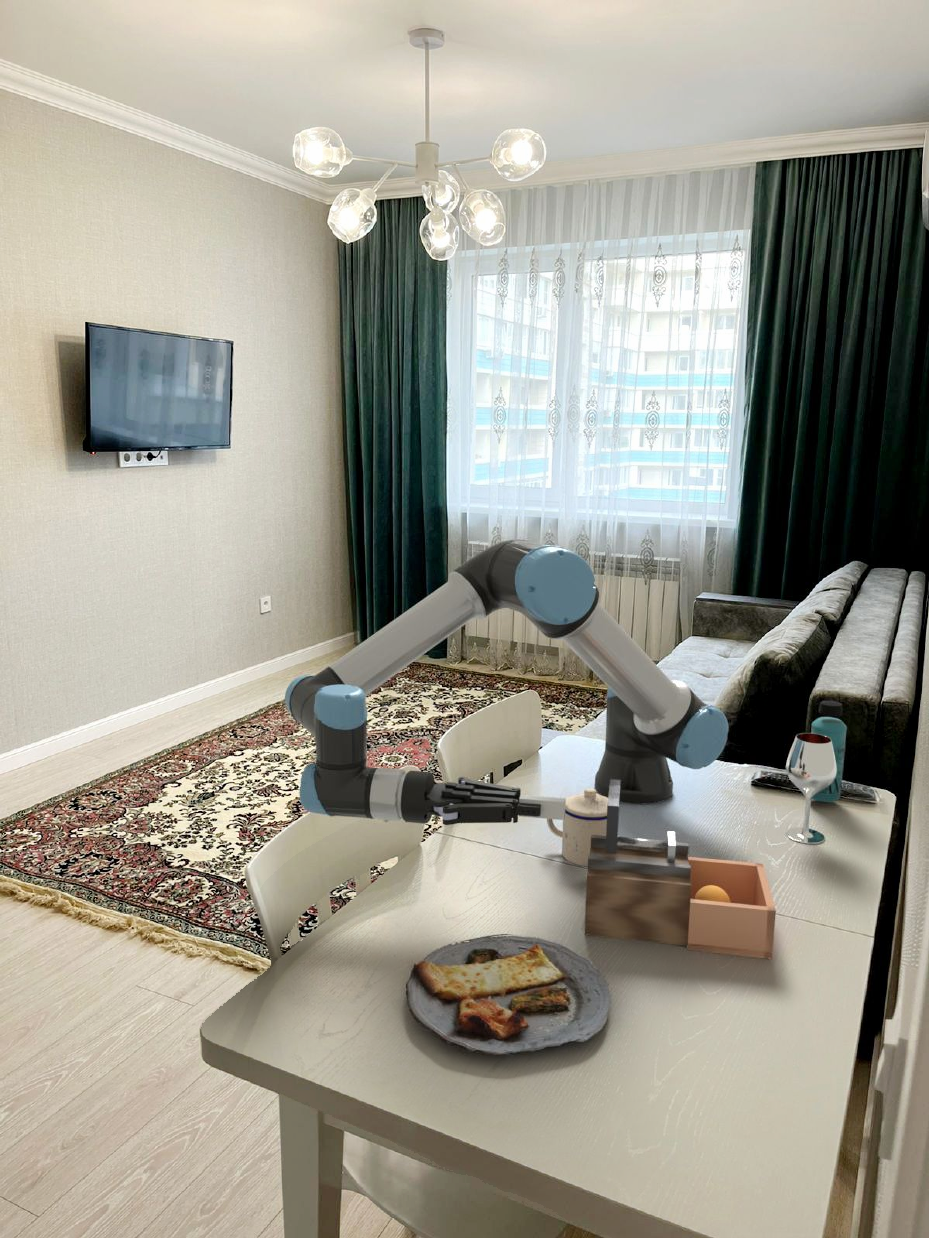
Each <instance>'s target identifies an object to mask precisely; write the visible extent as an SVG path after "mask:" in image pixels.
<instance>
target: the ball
mask: <svg viewBox="0 0 929 1238" xmlns="http://www.w3.org/2000/svg"><path fill="white" fill-rule="evenodd" d="M695 899H697V900H707V901H716V902H726V903H730V899H729V896H728V895H727V893H726V892H725V891H724V890H723V889H721V888H720V887H718V886H714V885H708V886H705V887H703V888H701V889H700V890H699V891H698V892H697V893H696V895H695Z"/></svg>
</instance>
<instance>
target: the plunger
mask: <svg viewBox="0 0 929 1238" xmlns="http://www.w3.org/2000/svg"><path fill="white" fill-rule="evenodd" d="M620 783H621V780H614V779H610V786H609V795H608V804H607V826H606V851H605V853H608V854H616V853H617V848H623V849H634V850H645V851H656V852H667V863H675V850H676V843H675V842H676V832H675V831H669V830H668V831H667V833H666V834H667V836H666V838H667V839H666V840H661V839H652V838H651V839H649V838H640V837H639V838H638V837H628V836H619V823H620V805H621V804H620V803H621V802H620Z"/></svg>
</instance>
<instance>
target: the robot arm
mask: <svg viewBox="0 0 929 1238" xmlns="http://www.w3.org/2000/svg"><path fill="white" fill-rule="evenodd" d="M595 582H596V577H595V574H594V572H593V569H592V568H591V566H590V564H589V563H588V562H587V561H586V560H585V559H584V558H583V557H582V556H581V555H580V554H578V553H576V552H574V551H572V550H570V549H568V548H567V547H564V546H563V547H562V546H559V545H547V544H543V543H537V542H534V541H533V542H532V541H528V540H525V539H517V538H516V539H507V540H504V541H503V540H502V541H501V542H498V543H494V544H493V545H491V546H489V547H488V548H486V549H484V550H482V551H480V552H478V553H477V554H475V555H474V556H472V557H471V558H469V559H468V560H467V561H465V562H464V563H462V564H461V565H459V566H458V567H457V568H455V569H454V570H452V571H451V572H449V574H448V579H447V582H446V583H444V584H443V585H442V586H440V587H439V588H437V589H436V590H434V591H433V592H431V593H430V594H429V595H427V596H426V597H424V598H423V599H422V600H420V601H419V602H417V603H416V604H415V605H413V606H412V607H411V608H409V609H407V610H406V611H405V612H403V613H402V614H400V615H399V616H398V617H396V618H395V619H393V620H392V621H390V622H389V623H388V624H386V625H385V626H383V627H382V628H380V629H379V630H378V631H376V632H375V633H374V634H372V635H371V636H370V637H368V638H367V639H365V640H364V641H362V642H361V643H360V644H358V645H357V646H355V647H354V648H352V649H351V650H350V651H348V652H346V654H344V655H343V656H341V657H340V658H338V659H337V660H336V661H334V662H333V663H331V664H329V666H327V667H326V668H324V669H322V670H320V672H318V673H317V674H315V675H312V674H305V675H300V676H298V677H296V678H295V679H293V680H292V681H291V682H290V683H289V685H288V687H287V688H286V691H285V694H284V702H285V703H284V704H285V706H286V709H287V711H288V712H289V713H290V716H291V717H292V719H293V720H294V721H296V722H297V723H298V724H300V725H301V726H302V727H303V728H305V729H306V731H308V732H309V734H311V735H312V736H313V737H314V738H315V755H316V756H315V762H312V763H311V762H310V763H309V764H307V765H306V767H305V768H304V770H303V771H302V773H301V776H300V786H299V792H298V793H299V794H298V795H299V800H300V804H301V806H302V808H303V809H304V810H305V812H308V813H313V814H319V815H326V816H329V817H346V818H347V817H349V818H360V819H370V820H382V821H383V822H384V823H389V822H390V821H394V822H399V821H401V820H403V821H404V823H412V824H414V823H415V824H424V825H425V824H428V823H429V822H430V821H431V819H432V817H433V816H435V817H442V825H445V826H450V825H456V824H496V823H497V824H498V823H499V824H500V823H501V824H505V823H507V824H509V823H511V822H512V823H513V824H515V823H516V824H517V823H518V822H519V817H523V818H535V819H536V818H538V819H546V820H547V819H552V820H560V821H563V820H564V818H565V800H566V799H567V798H566V797H565V798H564V797H555V796H554V797H553V796H541V795H540V796H539V795H531V794H529V795H528V794H521V791H522V789H521V788H520V787H514V786H513V787H512V786H506V785H501V784H495V783H491V782H490V783H489V782H484V781H478V780H473V779H470V778H468V777H465V776H460V777H458V778H457V782H451V781H447V782H441V783H440V782H439V783H437V782H436V781H435V776H434V774H433V773H432V772H430V771H423V770H422V771H421V770H408V772H406V771H405V769H401V768H385V767H371V766H368V765H367V761H368V758H367V757H368V756H367V755H368V754H367V753H368V752H367V749H368V748H367V744H368V743H367V735H368V734H367V729H368V728H367V727H368V725H367V723H368V722H367V721H368V720H367V719H368V708H367V700H366V699H367V697H366V696H367V695H369V694H370V693H371V692H373V691H374V690H376V689H377V688H379V687H380V686H382V685H383V684H384V683H386V682H387V681H389V679H391V678H393V677H394V676H395V675H397V674H398V673H400V672H401V671H402V670H404V669H405V668H406V667H408V666H409V665H411V664H412V663H413V662H415V661H416V660H417V659H419V658H420V657H422V656H423V655H425V654H426V653H427V652H429V651H430V650H432V649H433V648H434V647H436V646H437V645H438V644H441V642H443V641H444V640H446V639H447V638H448V637H450V636H451V635H453V634H454V633H455V632H456V631H458V630H459V629H461V628H462V627H464V626H465V625H466V624H467V623H469V622H470V621H471V620H473V619H475V620H477V619H478V620H483V619H485V618H487V617H488V616H489V615H490V614H492V613H494V612H496V611H498V610H503V609H506V608H507V609H510V610H511V611H512V610H513V611H516V612H518V613H520V614H522V615H523V616H525V617H526V618H527V619H528V620H529V621H530V622H531V623H532V624H533V625H534V626H535V627H536V628H537V629H538V630H539V631H540V632H541V633H542V634H543V636H545V637H546V638H547V639H550V640H562V641H563V642H564V643H565V644H566V646H567V647H568V648H570V649H571V651H572V652H574V654H576V655H577V656H578V657H579V658H580V660H581V661H582V662H583V663H584V664H585V665H586V666H587V667H588V668H589V669H590V670H591V671H592V672H593V673H594V674H595V675H596V676H597V677H598V678H599V679H600V680H601V681H602V682H603V683H604V684H605V685H606V686H607V691H606V692H607V693H606V696H605V697H606V698H605V699H606V713H605V714H606V715H605V718H606V719H605V720H606V721H605V743H604V745H605V746H604V748H605V749H604V752H603V756H602V758H601V761H600V765H599V768H598V770H597V771H596V773H595V776H594V789H595V790H596V793H597V794H599V795H601V796H604V797H607V798H608V795H609V786H610V779H614V780H621V783H620V803H622V804H630V805H652V804H657V803H662V802H664V801H666V800H669V799H670V798H671V797H672V796H673V792H674V791H673V790H674V787H673V786H674V781H673V778H672V775H671V771H670V767H669V764H668V759H669V760H671V761H672V762H675V763H677V764H678V765H679V766H681V767H683V768H689V769H692V770H700V769H702V768H706V767H709V766H711V764H713V763H714V762H715V761H716V760H717V759H718V758H719V756H720V755H721V753H722V752H723V750H724V749H725V746H726V744H727V741H728V733H729V722H728V719H727V717H726V715H725V714H724V713H723V711H722V710H720V709H719V708H717V707H716V706H714V705H710V704H706V703H705V702H703V701H702V700H701V699H700V698H699V696H697V695H696V694H695V693H694V691H693V690H692V689H691V688H690V687H689V686H688V685H687V684H686V683H685V682H683V681H682V680H679V679H670V678H669V677H668V676H667V675H666V674H665V672H663V670H661V668H659V666H658V665H657V664H656V663H655V662H654V661H653V660H652V659H651V658H650V656H649V655H648V654H647V653H646V652H645V651H644V650H643V649H642V648H641V647H640V645H638V644H637V642H636V641H635V640H634V639H633V638H632V636H630V635H629V634H628V633H627V632H626V631H625V630H624V628H623V627H622V626H621V625H620V624H619V622H618V621H616V620H615V618H614V617H612V616H611V614H610V613H609V612H608V611H607V610H606V609H605V608H604V607H603V606H602V605H601V604H600V602H601V601H600V600H601V591H600V589H599V588H598V586H597V585H596V584H595Z"/></svg>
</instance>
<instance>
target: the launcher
mask: <svg viewBox="0 0 929 1238" xmlns="http://www.w3.org/2000/svg"><path fill="white" fill-rule="evenodd" d="M675 843H676V850H675V863H667V852H656V851H645V850H634V849H623V848H617V853H616V854H608V853H605V851H606V836H601V835H591V848H590V855H588V866H587V870H586V883H585V885H586V886H585V907H584V908H585V910H584V911H585V913H584V935H585V936H594V937H601V938H602V937H604V938H613V939H622V940H629V941H630V940H631V941H640V942H641V941H642V942H648V943H658V944H667V945H676V946H685V947H686V946H687V940H688V924H689V907H690V892H691V881H690V874H691V865H689V860H688V857H689V848H690V846H689V842H678V841H675Z"/></svg>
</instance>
